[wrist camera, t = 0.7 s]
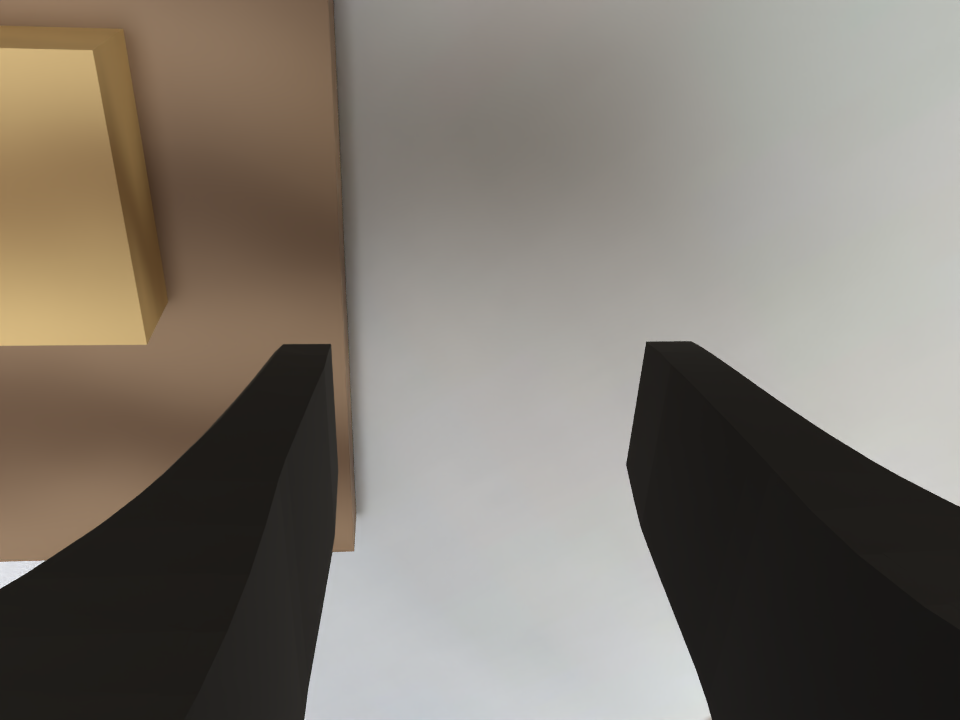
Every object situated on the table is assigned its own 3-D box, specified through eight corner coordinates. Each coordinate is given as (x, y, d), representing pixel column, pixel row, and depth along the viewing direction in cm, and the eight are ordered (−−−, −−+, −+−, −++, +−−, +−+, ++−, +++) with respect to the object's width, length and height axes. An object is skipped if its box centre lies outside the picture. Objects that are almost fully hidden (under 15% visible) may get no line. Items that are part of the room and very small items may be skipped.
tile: (168, 301, 20) (147, 344, 18) (-59, 301, 19) (-103, 346, 18) (123, 28, 17) (92, 50, 15) (-149, 21, 16) (-212, 43, 15)
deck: (355, 515, 26) (353, 551, 24) (6, 524, 25) (-15, 562, 23) (318, -335, 15) (311, -350, 14) (-284, -375, 14) (-350, -395, 13)
